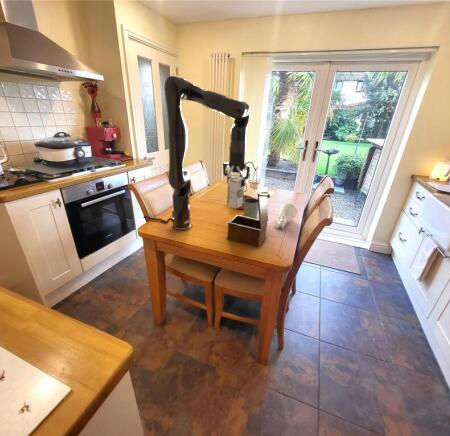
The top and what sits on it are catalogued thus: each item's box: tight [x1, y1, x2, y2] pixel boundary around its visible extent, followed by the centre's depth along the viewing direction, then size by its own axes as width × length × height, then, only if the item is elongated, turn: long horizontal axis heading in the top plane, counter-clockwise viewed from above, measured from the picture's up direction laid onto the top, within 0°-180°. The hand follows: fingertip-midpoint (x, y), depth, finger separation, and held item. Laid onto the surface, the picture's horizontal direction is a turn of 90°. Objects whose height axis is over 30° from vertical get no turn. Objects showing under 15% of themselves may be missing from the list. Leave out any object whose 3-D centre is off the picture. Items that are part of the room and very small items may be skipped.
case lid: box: [257, 186, 275, 230], centre depth 115 cm, size 18×12×5 cm
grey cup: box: [243, 197, 259, 219], centre depth 149 cm, size 10×10×12 cm
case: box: [227, 214, 268, 248], centre depth 125 cm, size 18×12×10 cm, turn 64°
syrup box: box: [226, 176, 245, 210], centre depth 114 cm, size 6×6×14 cm
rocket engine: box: [275, 202, 299, 230], centre depth 143 cm, size 12×12×18 cm
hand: (236, 185), depth 113 cm, fingers closed on syrup box, 6 cm apart
